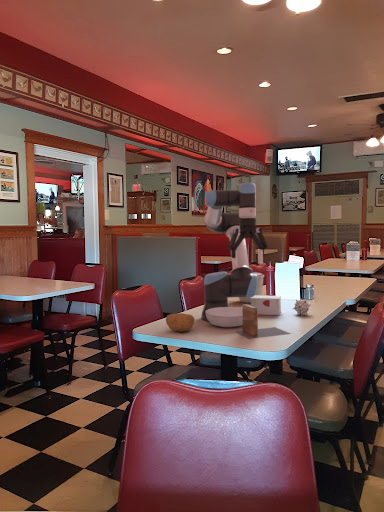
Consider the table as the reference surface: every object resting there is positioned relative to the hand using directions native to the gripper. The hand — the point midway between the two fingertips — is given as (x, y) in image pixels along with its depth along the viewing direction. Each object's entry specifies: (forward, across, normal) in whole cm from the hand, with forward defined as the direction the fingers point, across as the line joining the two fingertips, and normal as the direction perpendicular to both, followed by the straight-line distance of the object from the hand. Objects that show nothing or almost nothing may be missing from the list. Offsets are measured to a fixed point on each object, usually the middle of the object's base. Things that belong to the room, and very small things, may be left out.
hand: (248, 264), depth 185 cm
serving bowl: (+29, -7, +7) cm, 30 cm away
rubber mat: (+29, -2, -13) cm, 32 cm away
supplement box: (+24, +19, +26) cm, 41 cm away
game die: (+29, +39, +9) cm, 49 cm away
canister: (+29, +38, +56) cm, 74 cm away
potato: (+29, -31, +9) cm, 43 cm away
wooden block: (+28, -8, -13) cm, 32 cm away
